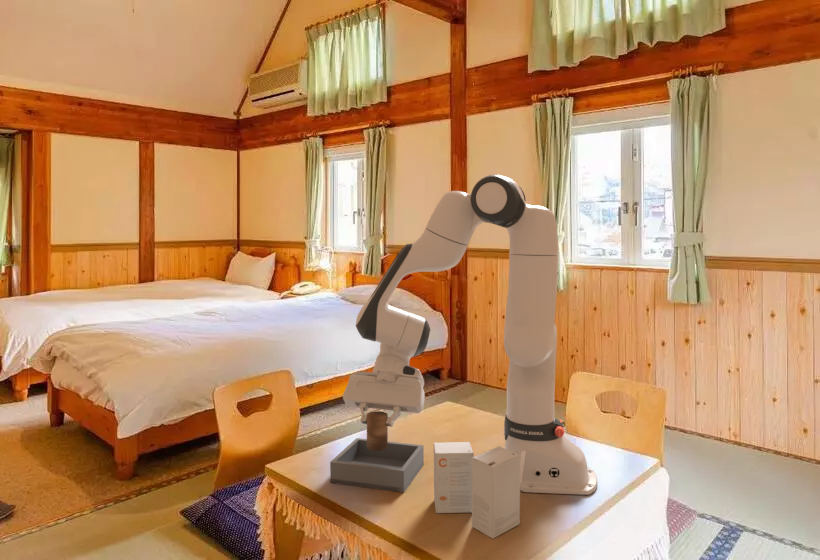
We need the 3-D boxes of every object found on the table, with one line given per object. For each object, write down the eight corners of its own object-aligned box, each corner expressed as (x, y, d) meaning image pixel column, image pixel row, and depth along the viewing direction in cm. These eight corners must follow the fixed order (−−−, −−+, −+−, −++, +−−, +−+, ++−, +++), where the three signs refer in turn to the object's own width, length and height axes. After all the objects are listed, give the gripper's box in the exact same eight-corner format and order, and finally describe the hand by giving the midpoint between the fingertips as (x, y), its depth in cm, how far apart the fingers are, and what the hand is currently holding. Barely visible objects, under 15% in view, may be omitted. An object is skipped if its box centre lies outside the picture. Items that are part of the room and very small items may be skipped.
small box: (470, 499, 126) (470, 441, 125) (474, 513, 120) (474, 452, 119) (433, 499, 126) (433, 441, 125) (435, 513, 120) (434, 453, 119)
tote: (423, 464, 145) (423, 445, 144) (404, 492, 129) (403, 471, 129) (356, 456, 150) (356, 438, 149) (330, 482, 135) (330, 461, 134)
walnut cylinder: (390, 444, 141) (390, 412, 140) (383, 452, 136) (383, 419, 135) (371, 442, 142) (371, 410, 142) (363, 449, 138) (363, 416, 137)
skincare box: (498, 514, 119) (499, 444, 118) (521, 526, 115) (522, 453, 113) (470, 528, 114) (470, 455, 113) (492, 540, 109) (493, 464, 108)
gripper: (348, 364, 147) (332, 413, 139) (425, 370, 141) (414, 422, 133) (355, 377, 152) (340, 425, 143) (430, 383, 146) (419, 434, 137)
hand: (376, 424), depth 138 cm, fingers closed on walnut cylinder, 5 cm apart
